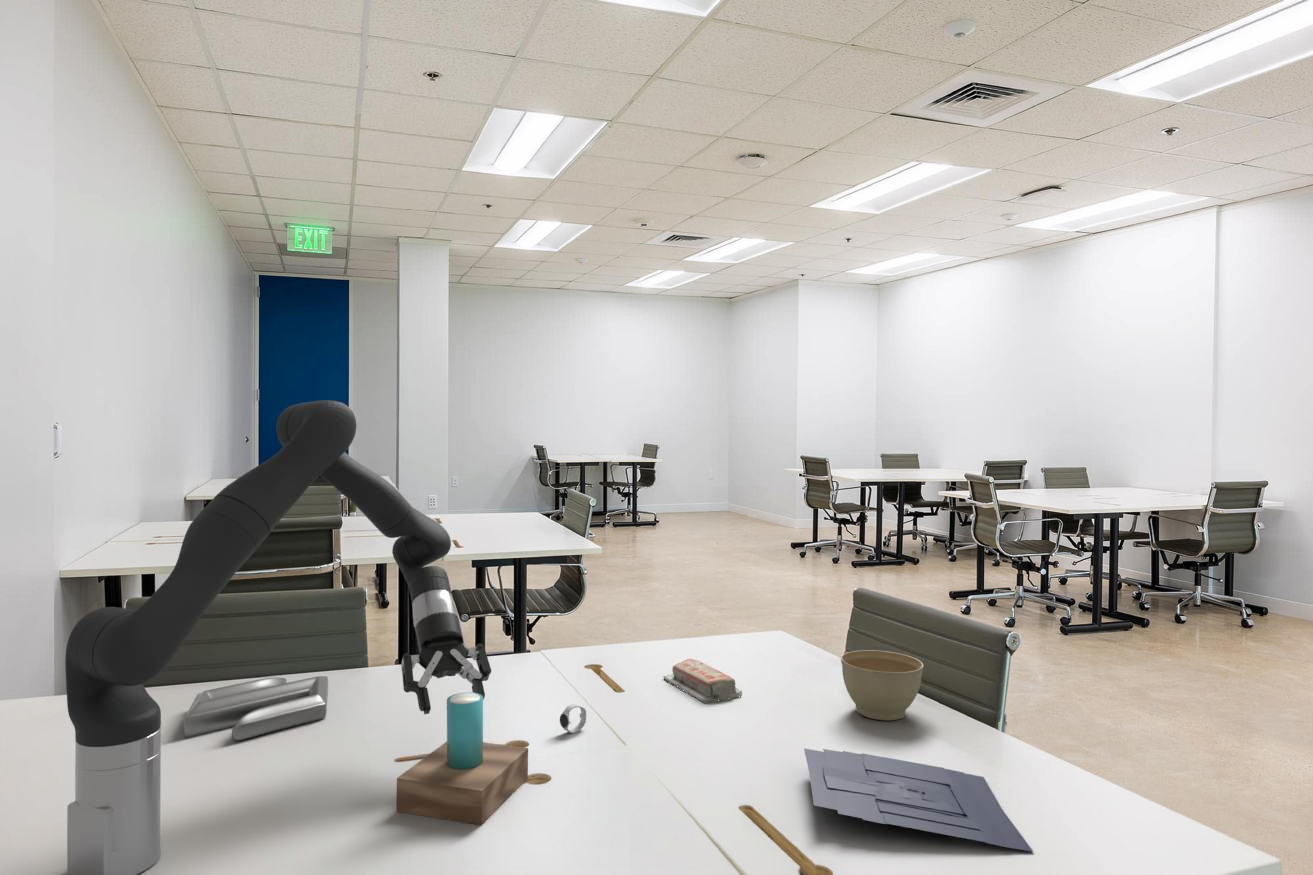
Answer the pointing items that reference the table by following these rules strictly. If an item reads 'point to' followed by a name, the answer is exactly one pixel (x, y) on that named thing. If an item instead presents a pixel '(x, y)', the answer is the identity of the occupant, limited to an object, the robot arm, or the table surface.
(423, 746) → the table surface
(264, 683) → the emblem
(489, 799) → the wooden square base
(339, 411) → the robot arm
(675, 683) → the packaged product
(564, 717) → the wristwatch
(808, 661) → the table surface
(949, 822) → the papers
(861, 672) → the planter bowl
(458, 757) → the tumbler
